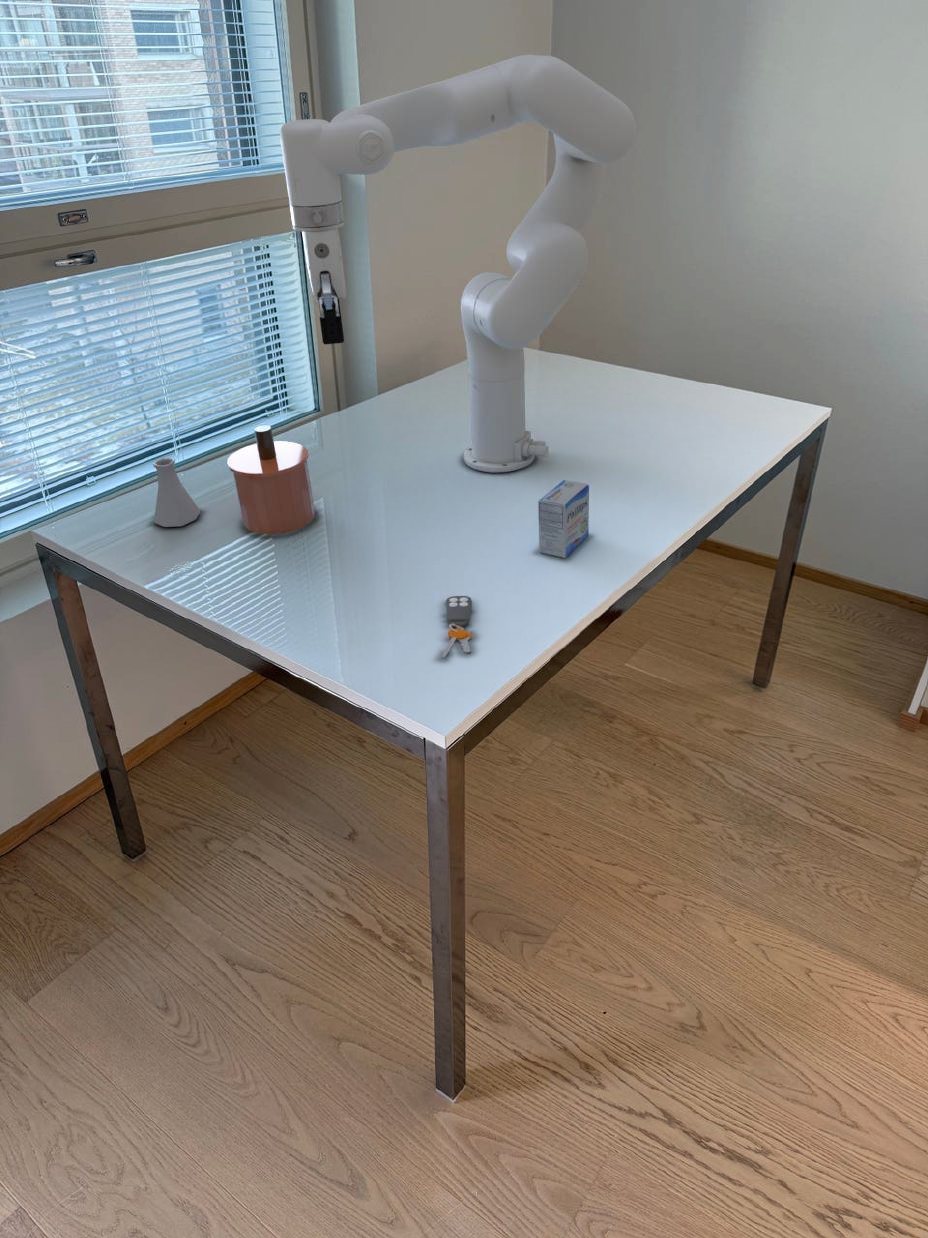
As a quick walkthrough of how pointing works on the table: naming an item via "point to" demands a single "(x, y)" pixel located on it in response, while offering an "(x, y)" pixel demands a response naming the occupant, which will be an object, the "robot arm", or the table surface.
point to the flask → (172, 497)
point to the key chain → (458, 621)
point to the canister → (276, 501)
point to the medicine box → (563, 518)
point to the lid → (267, 456)
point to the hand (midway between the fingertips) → (332, 333)
